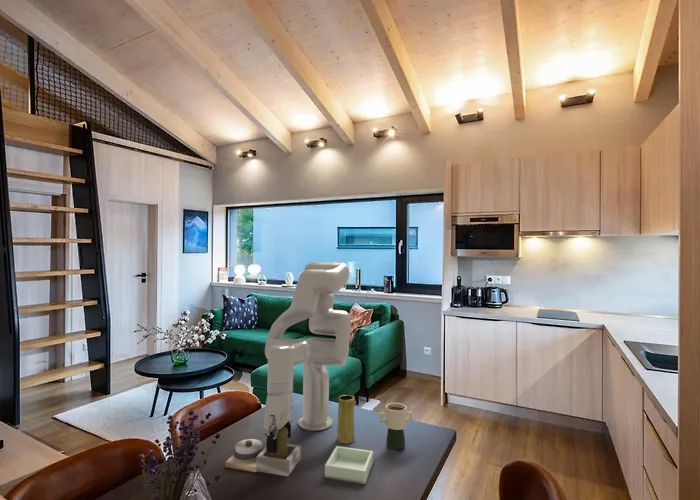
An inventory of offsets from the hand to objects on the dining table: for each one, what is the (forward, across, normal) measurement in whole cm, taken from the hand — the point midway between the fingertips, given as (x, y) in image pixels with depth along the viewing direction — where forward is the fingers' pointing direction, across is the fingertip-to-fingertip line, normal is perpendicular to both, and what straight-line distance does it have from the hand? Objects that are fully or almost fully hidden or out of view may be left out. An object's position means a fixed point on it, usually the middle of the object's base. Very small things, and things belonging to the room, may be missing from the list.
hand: (278, 444), depth 118 cm
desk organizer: (+6, 0, -5) cm, 8 cm away
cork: (+6, 0, 0) cm, 6 cm away
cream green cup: (+6, -21, +32) cm, 39 cm away
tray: (+6, -3, +21) cm, 22 cm away
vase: (+6, -21, +15) cm, 27 cm away
